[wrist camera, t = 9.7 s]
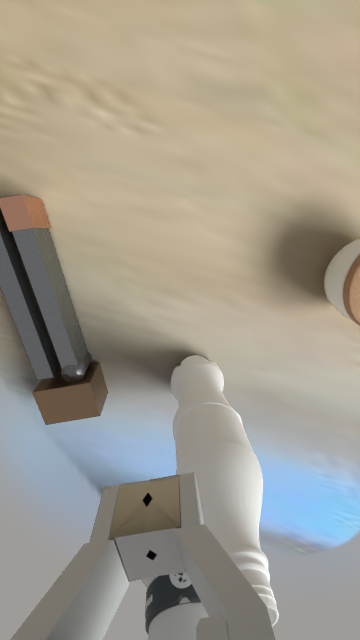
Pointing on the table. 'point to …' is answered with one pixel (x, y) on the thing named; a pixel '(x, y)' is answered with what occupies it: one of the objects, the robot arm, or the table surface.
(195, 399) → the water bottle
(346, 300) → the lidded jar
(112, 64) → the table surface
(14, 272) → the tong base
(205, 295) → the table surface
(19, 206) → the tong arm
